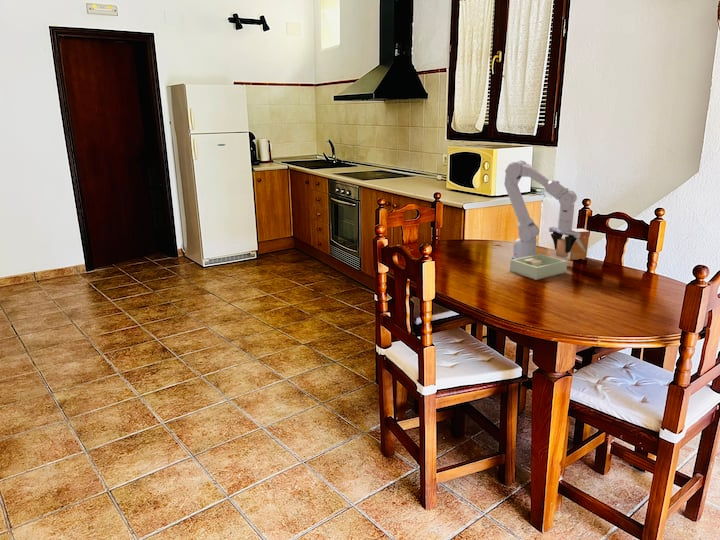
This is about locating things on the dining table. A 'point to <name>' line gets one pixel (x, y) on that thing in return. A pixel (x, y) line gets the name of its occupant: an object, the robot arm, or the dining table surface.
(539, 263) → the birch cube
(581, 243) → the small box
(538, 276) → the tote
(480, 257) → the dining table surface
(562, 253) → the terracotta capsule
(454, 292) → the dining table surface
